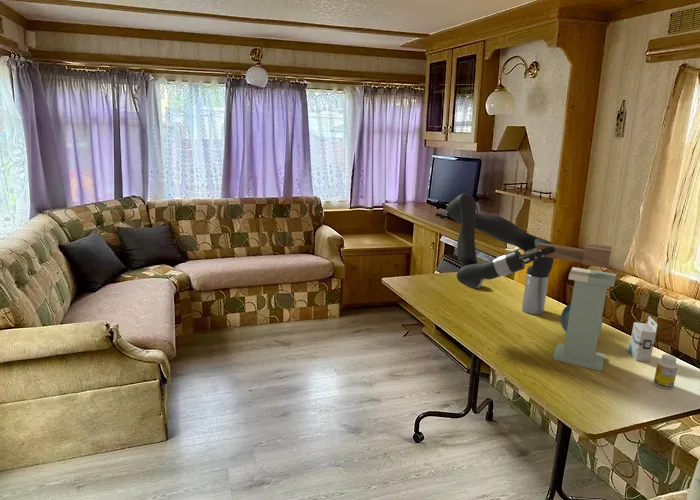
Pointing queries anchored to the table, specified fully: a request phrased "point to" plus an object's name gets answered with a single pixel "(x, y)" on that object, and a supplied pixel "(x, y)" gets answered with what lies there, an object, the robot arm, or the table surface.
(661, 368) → the supplement bottle
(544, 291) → the robot arm
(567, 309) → the decorative ball
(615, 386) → the table surface
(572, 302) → the stand
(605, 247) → the walnut block
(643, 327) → the ink box
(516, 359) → the table surface
